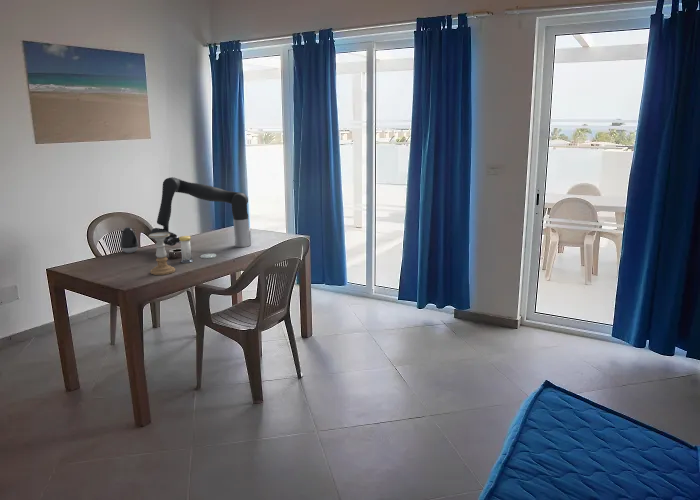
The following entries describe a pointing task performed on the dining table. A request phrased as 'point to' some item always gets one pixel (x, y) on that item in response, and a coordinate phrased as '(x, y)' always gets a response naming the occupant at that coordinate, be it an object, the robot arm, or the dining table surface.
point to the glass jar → (185, 247)
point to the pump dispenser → (128, 240)
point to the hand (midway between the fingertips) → (179, 242)
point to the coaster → (208, 255)
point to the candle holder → (161, 255)
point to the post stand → (186, 260)
